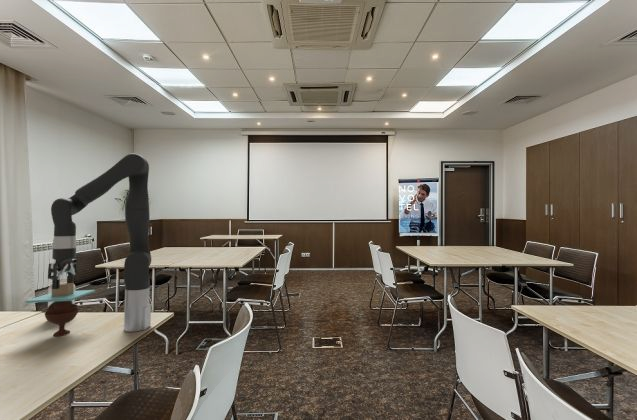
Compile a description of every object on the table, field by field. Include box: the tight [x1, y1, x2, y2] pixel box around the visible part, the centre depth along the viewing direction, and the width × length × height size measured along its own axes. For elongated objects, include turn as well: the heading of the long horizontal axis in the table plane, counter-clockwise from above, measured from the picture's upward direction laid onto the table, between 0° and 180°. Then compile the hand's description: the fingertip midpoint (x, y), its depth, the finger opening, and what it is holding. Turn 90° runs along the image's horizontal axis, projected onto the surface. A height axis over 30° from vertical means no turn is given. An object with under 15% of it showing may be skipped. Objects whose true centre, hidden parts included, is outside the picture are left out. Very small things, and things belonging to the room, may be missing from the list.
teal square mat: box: [24, 283, 96, 304], centre depth 128 cm, size 16×16×5 cm
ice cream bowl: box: [44, 301, 80, 337], centre depth 127 cm, size 11×11×15 cm
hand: (63, 286), depth 128 cm, fingers open, 8 cm apart
